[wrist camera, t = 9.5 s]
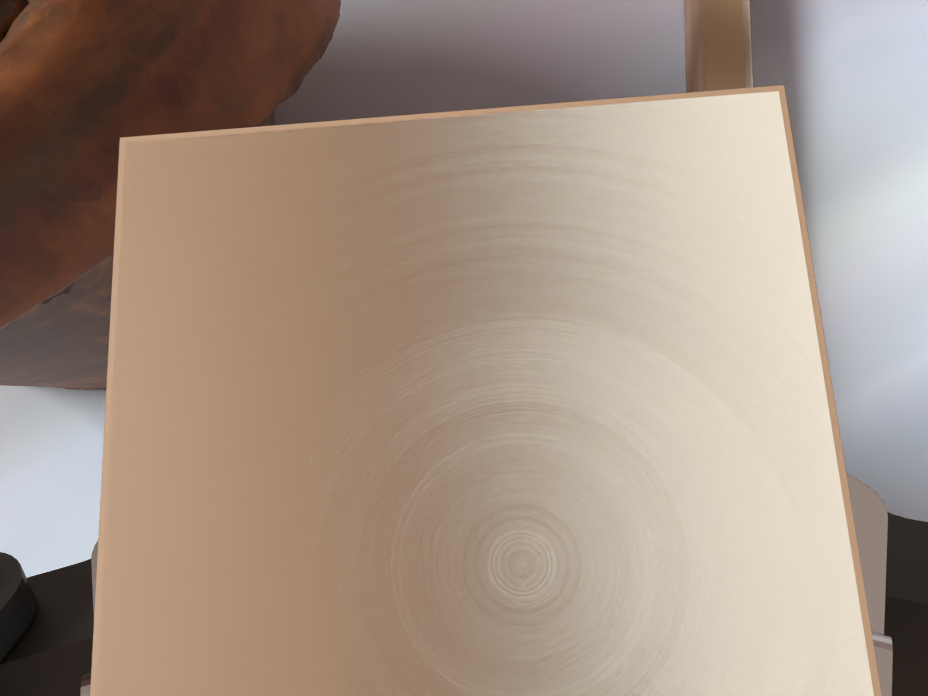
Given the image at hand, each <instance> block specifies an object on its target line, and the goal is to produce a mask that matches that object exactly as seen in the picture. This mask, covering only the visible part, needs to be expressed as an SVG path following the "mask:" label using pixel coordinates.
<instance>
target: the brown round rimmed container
mask: <svg viewBox="0 0 928 696" xmlns="http://www.w3.org/2000/svg"><path fill="white" fill-rule="evenodd" d="M340 5H341V2H340V0H0V385H8V386H51V387H58V388H68V389H97V388H106V387H107V369H108V351H109V332H110V313H111V294H112V276H113V257H114V238H115V219H116V200H117V182H118V163H119V144H120V138H122V137H135V136H147V135H160V134H173V133H185V132H198V131H211V130H223V129H236V128H248V127H261V126H274V125H275V119H274V112H273V110H274V109H275V108H276V107H277V106H278V105H279V104H280V103H282V102H283V101H285V100H286V99H287V98H289V97H290V96H292V95H293V94H294V93H295V92H296V91H297V90H298V88H299V86H300V85H301V83H302V80H303V78H304V76H305V75H306V74H307V73H308V71H309V70H310V69H311V68H312V66H313V65H314V64H315V63H316V62H317V61H318V60H319V59H320V58H321V57H322V55H323V54H324V52H325V50H326V48H327V46H328V44H329V42H330V41H331V39H332V36H333V32H334V30H335V27H336V25H337V21H338V18H339V16H340V15H339V11H340Z"/></svg>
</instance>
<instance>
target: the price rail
mask: <svg viewBox="0 0 928 696" xmlns="http://www.w3.org/2000/svg"><path fill="white" fill-rule="evenodd" d="M684 1H685V45H686V89H687V93H691V92H703V91H716V90H728V89H741V88H753V75H752V52H751V30H750V7H749V0H684Z"/></svg>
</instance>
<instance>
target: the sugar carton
mask: <svg viewBox="0 0 928 696" xmlns="http://www.w3.org/2000/svg"><path fill="white" fill-rule="evenodd" d="M90 696H881V689H880V683H879V677H878V670H877V664H876V658H875V652H874V645H873V639H872V633H871V627H870V620H869V614H868V608H867V602H866V595H865V589H864V583H863V577H862V570H861V564H860V558H859V551H858V545H857V539H856V533H855V526H854V520H853V514H852V508H851V501H850V495H849V489H848V483H847V476H846V470H845V464H844V457H843V451H842V445H841V439H840V432H839V426H838V420H837V414H836V407H835V401H834V395H833V389H832V382H831V376H830V370H829V364H828V357H827V351H826V345H825V338H824V332H823V326H822V320H821V313H820V307H819V301H818V295H817V288H816V282H815V276H814V270H813V263H812V257H811V251H810V244H809V238H808V232H807V226H806V219H805V213H804V207H803V201H802V194H801V188H800V182H799V176H798V169H797V163H796V157H795V150H794V144H793V138H792V132H791V125H790V119H789V113H788V107H787V100H786V94H785V88H784V85H779V86H766V87H754V88H741V89H728V90H716V91H703V92H691V93H678V94H665V95H653V96H640V97H627V98H615V99H602V100H590V101H577V102H564V103H552V104H539V105H526V106H514V107H501V108H488V109H476V110H463V111H451V112H438V113H425V114H413V115H400V116H387V117H375V118H362V119H349V120H337V121H324V122H312V123H299V124H286V125H274V126H261V127H248V128H236V129H223V130H211V131H198V132H185V133H173V134H160V135H147V136H135V137H122V138H120V144H119V163H118V182H117V200H116V219H115V238H114V257H113V276H112V294H111V313H110V332H109V351H108V369H107V388H106V407H105V426H104V444H103V463H102V482H101V501H100V520H99V538H98V557H97V576H96V595H95V613H94V632H93V651H92V670H91V688H90Z"/></svg>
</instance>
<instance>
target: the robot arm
mask: <svg viewBox="0 0 928 696" xmlns="http://www.w3.org/2000/svg"><path fill="white" fill-rule="evenodd" d="M846 476H847V483H848V489H849V495H850V501H851V508H852V514H853V520H854V526H855V533H856V539H857V545H858V551H859V558H860V564H861V570H862V577H863V583H864V589H865V595H866V602H867V608H868V614H869V620H870V627H871V633H872V639H873V645H874V652H875V658H876V664H877V670H878V677H879V683H880V689H881V696H928V522H923V521H917V520H912V519H907V518H903V517H900V516H896V515H893V514H890V513H888V512H887V509H886V507H885V504H884V502H883V501H882V499H881V498H880V497H879V496H878V495H877V493H876V492H875V491H874V490H872V489H871V488H870V487H869V486H867V485H866V484H864V483H863V482H861V481H859V480H857V479H855V478H853V477H851V476H849V475H846ZM97 557H98V541H97V543H96V545H95V546H94V549H93V552H92V558H91V559H89V560H87V561H84V562H81V563H78V564H74V565H71V566H67V567H64V568H60V569H57V570H53V571H50V572H46V573H43V574H39V575H35V576H32V577H28V578H26V576H25V574H24V571H23V569H22V567H21V565H20V563H19V562H18V561H17V559H15V558H14V557H13V556H11V555H8V554H6V553H1V552H0V696H90V688H91V670H92V651H93V632H94V613H95V595H96V576H97Z"/></svg>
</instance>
